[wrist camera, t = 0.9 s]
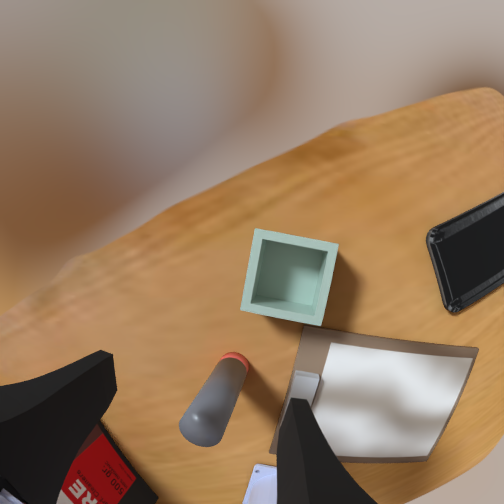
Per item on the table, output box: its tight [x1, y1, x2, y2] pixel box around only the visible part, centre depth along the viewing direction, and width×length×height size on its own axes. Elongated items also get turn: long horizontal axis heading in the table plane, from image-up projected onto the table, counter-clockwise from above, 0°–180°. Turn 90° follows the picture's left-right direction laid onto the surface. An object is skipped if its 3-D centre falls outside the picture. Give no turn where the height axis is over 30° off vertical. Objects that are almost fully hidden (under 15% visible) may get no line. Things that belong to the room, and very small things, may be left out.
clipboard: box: [269, 324, 479, 463], centre depth 22 cm, size 14×18×1 cm
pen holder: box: [240, 228, 339, 326], centre depth 21 cm, size 6×6×4 cm
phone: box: [426, 192, 504, 312], centre depth 20 cm, size 8×1×15 cm
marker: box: [179, 352, 249, 447], centre depth 19 cm, size 3×3×10 cm
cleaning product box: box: [22, 420, 158, 504], centre depth 18 cm, size 16×9×20 cm, turn 25°
